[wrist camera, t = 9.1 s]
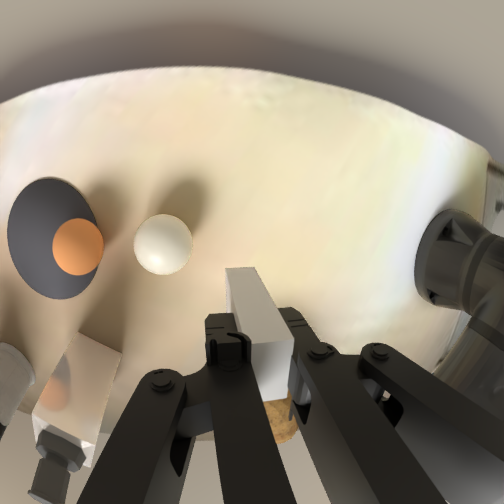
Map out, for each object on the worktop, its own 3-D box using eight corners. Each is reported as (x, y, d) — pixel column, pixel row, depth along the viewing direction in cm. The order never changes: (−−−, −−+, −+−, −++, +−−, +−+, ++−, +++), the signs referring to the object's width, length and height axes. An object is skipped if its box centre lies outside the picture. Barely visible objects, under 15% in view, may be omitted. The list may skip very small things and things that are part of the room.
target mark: (95, 171, 23) (94, 171, 23) (109, 299, 27) (108, 300, 27) (3, 188, 21) (2, 188, 20) (20, 297, 25) (20, 297, 24)
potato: (272, 334, 32) (292, 377, 24) (300, 398, 37) (318, 436, 29) (200, 362, 31) (202, 409, 24) (242, 420, 36) (251, 460, 29)
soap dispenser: (69, 374, 29) (22, 498, 8) (77, 331, 27) (6, 474, 7) (109, 393, 31) (81, 525, 10) (122, 353, 29) (83, 513, 9)
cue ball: (141, 229, 19) (122, 216, 23) (152, 292, 21) (131, 270, 25) (201, 214, 23) (173, 205, 26) (206, 272, 25) (178, 255, 28)
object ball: (98, 219, 20) (42, 228, 18) (107, 279, 22) (54, 287, 19) (101, 211, 25) (54, 218, 22) (107, 260, 27) (62, 268, 24)
